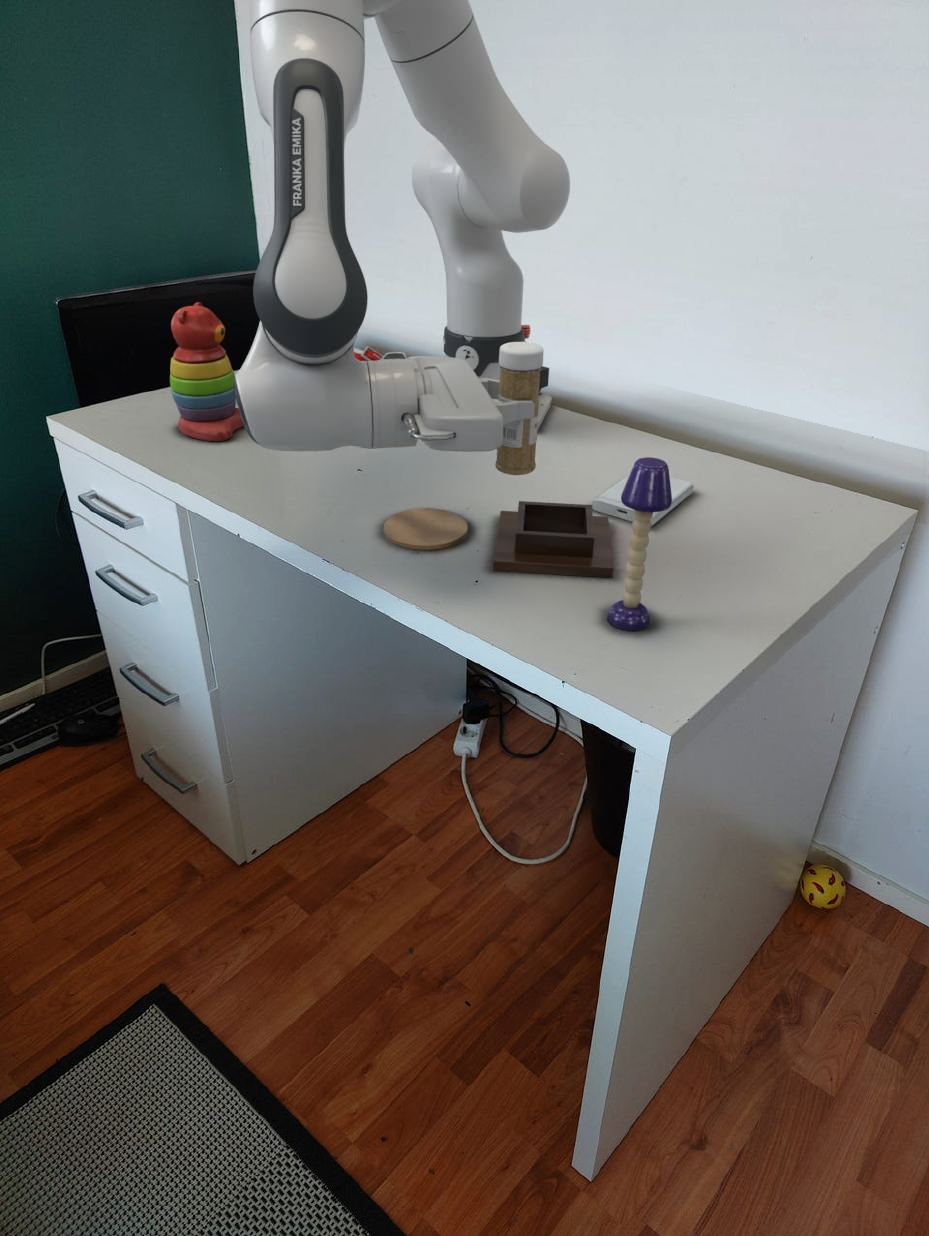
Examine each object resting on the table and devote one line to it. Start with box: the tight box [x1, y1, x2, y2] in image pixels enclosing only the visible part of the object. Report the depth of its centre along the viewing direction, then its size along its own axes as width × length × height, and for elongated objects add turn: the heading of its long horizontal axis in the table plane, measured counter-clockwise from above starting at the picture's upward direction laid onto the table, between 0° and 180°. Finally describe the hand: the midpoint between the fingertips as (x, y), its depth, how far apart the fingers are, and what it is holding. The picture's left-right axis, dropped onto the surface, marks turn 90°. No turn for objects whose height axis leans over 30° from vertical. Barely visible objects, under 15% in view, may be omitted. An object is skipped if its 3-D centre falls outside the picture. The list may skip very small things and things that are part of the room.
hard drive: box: [592, 475, 694, 527], centre depth 110 cm, size 2×8×12 cm
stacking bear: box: [169, 301, 245, 442], centre depth 126 cm, size 11×10×18 cm
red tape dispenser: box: [354, 345, 384, 361], centre depth 156 cm, size 12×4×10 cm
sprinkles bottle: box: [494, 341, 544, 476], centre depth 92 cm, size 5×5×14 cm
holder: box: [492, 500, 614, 578], centre depth 99 cm, size 13×13×4 cm
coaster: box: [383, 507, 469, 551], centre depth 102 cm, size 10×10×1 cm
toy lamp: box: [606, 456, 672, 631], centre depth 82 cm, size 5×5×17 cm
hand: (526, 399), depth 92 cm, fingers closed on sprinkles bottle, 4 cm apart
